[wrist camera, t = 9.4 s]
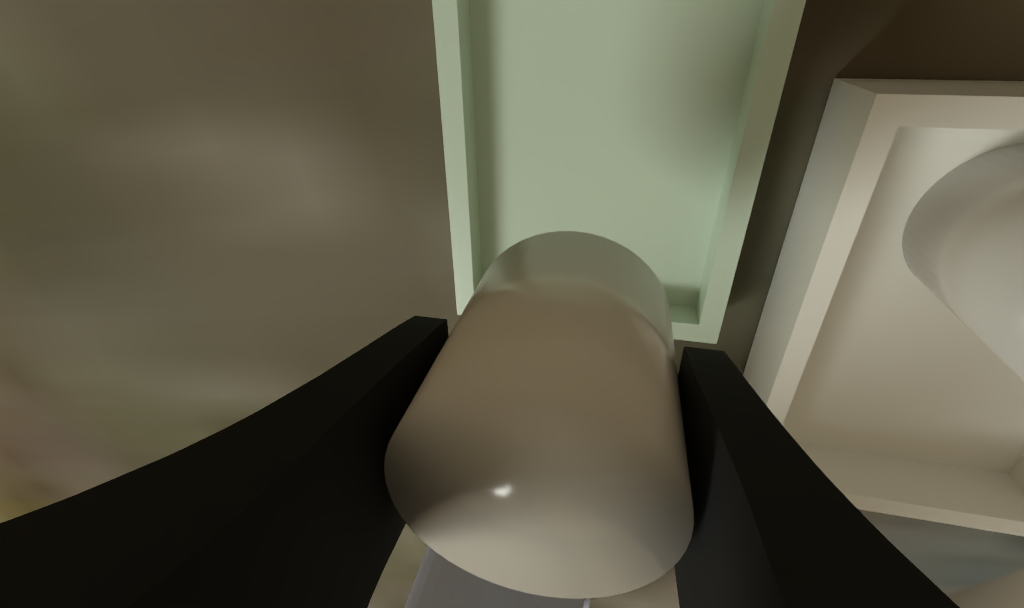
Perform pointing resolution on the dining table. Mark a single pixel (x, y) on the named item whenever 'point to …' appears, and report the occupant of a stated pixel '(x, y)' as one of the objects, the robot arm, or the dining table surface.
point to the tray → (612, 132)
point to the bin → (891, 314)
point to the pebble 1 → (552, 427)
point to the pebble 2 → (976, 248)
